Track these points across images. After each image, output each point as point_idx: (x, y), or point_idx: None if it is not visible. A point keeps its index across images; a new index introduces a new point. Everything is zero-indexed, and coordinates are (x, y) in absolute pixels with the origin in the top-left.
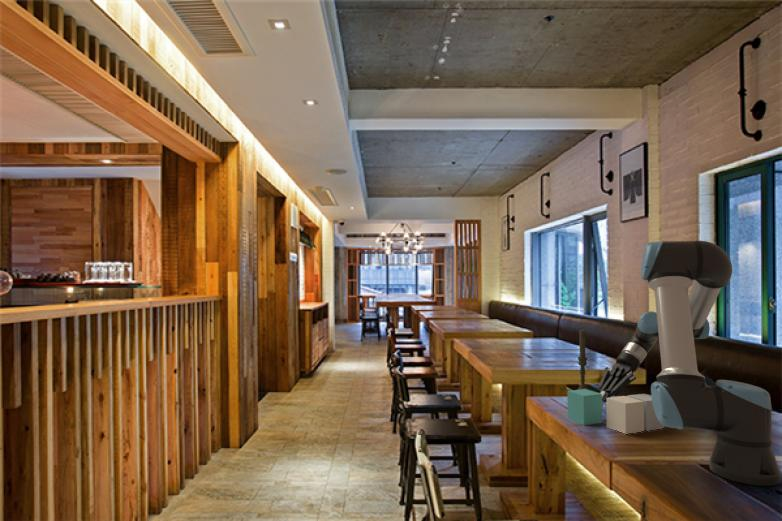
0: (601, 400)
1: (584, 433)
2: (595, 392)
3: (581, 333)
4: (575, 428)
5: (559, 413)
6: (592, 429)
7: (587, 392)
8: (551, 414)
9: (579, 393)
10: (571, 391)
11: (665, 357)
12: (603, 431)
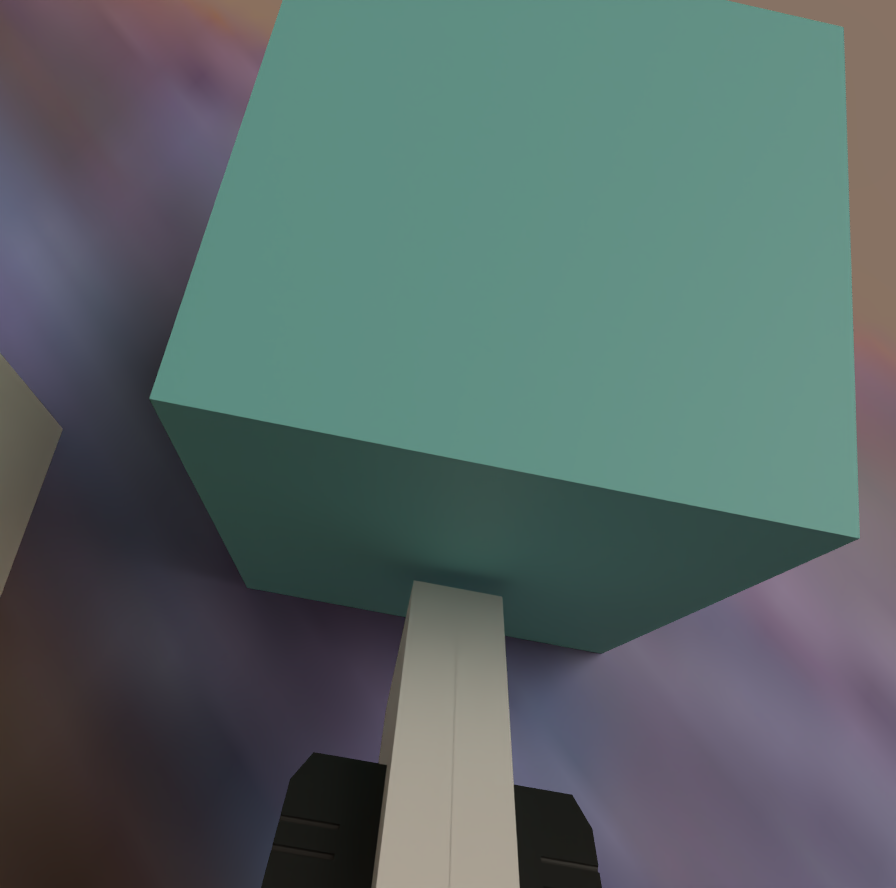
0: (190, 461)
1: (121, 44)
2: (382, 405)
3: None
4: None
5: (875, 462)
6: (147, 221)
7: (504, 232)
8: (869, 338)
9: (527, 16)
10: (756, 37)
11: None
12: (5, 256)
